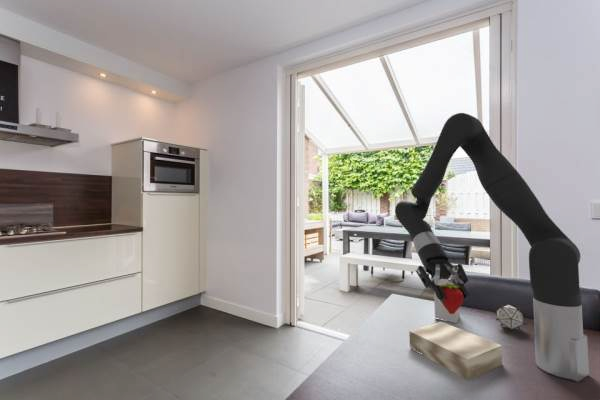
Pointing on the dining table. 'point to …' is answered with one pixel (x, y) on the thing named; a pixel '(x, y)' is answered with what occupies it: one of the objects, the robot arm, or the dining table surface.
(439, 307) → the grey tall block
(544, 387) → the dining table surface
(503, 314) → the game die
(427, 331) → the birch stand
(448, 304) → the strawberry
